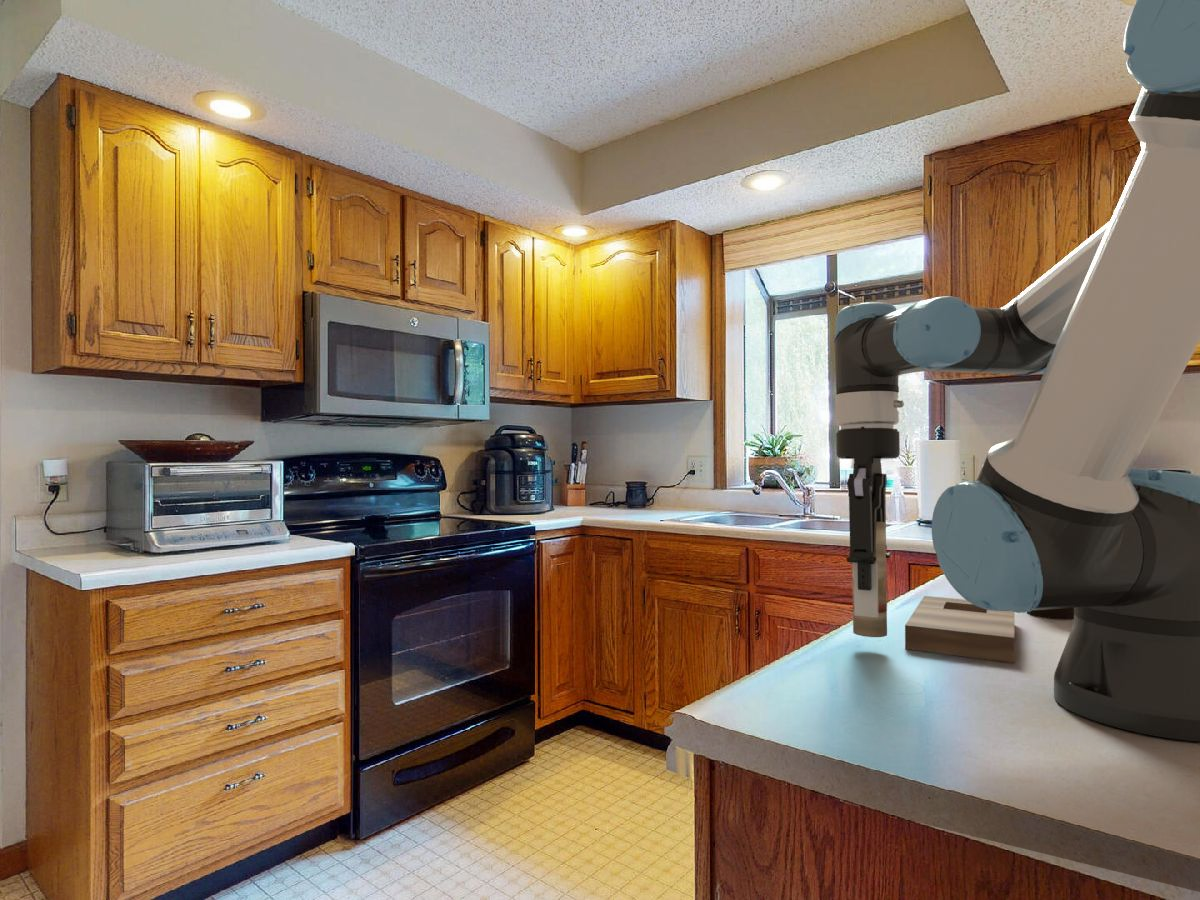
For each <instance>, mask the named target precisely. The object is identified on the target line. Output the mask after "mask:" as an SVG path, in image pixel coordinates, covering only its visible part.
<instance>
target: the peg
mask: <svg viewBox="0 0 1200 900" xmlns="http://www.w3.org/2000/svg"><path fill="white" fill-rule="evenodd" d="M886 545H887V534H886V535H885V522H876V561H875V563H878V618H877V617H867V616H857V615H854V563H851V564H852V565H851V567H852V568H851V569H852V572H851V573H852V576H851V577H852V579H851V580H852V583H851V584H852V633H853V634H854V635H857V636H860V637H867V638H883V637H887V636H888V616H887V615H888V612H887V611H888V602H887V599H888V598H887V597H888V596H887V560H886V559H887V558H886V552H887V549H886Z"/></svg>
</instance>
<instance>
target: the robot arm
mask: <svg viewBox="0 0 1200 900" xmlns="http://www.w3.org/2000/svg"><path fill="white" fill-rule="evenodd" d="M1123 52H1124V53H1125V54H1126V55H1127V56H1128V58H1127V60H1126V62H1125V63H1126V68H1127V70H1128V72H1129V73H1130V75H1131V76H1132V78H1133V79H1134V80H1135V81H1136V82H1137V84H1139V86H1141V90H1140V93H1139V95H1138V97H1137V100H1136V103H1135V104H1134V107H1133V109H1132V112H1131V114H1130V116H1129V119H1128V122H1129V124H1130V126H1131V128H1132V129H1133V131H1134V134H1135V136H1136V138H1137V139H1138V141H1139V143H1140V152H1139V155H1138V157H1137V160H1136V161H1135V163H1134V167H1133V169H1132V171H1131V173H1130V175H1129V177H1128V180H1127V182H1126V185H1125V187H1124V189H1123V191H1122V193H1121V196H1120V198H1119V201H1118V203H1117V205H1116V207H1115V209H1114V211H1113V215H1112V216H1111V218H1110V220H1109V221H1108V222H1107V223H1105V224H1104V225H1103V226H1102V227H1100V228H1099V229H1098V230H1097V231H1095V232H1094V233H1093V234H1092V235H1090V236H1089V238H1087V239H1086V240H1085V241H1083V242H1082V243H1080V245H1078V247H1076V248H1075V249H1074V250H1072V251H1071V252H1070V253H1069V254H1068V255H1066V256H1065V257H1064V258H1063V259H1061V260H1060V261H1059V262H1058V263H1056V264H1055V265H1054V266H1053V267H1052V268H1051V269H1050V268H1049V270H1048V271H1046V273H1044V274H1043V275H1042V276H1041V277H1039V278H1038V279H1036V281H1034V283H1032V284H1031V285H1029V286H1028V287H1027V288H1026V289H1025V290H1024V291H1022V292H1021V293H1020V294H1018V295H1016V297H1015V298H1013V299H1012V300H1011V301H1010V302H1008V303H1007V304H1006V305H1004V306H1002V307H999V308H998V307H983V306H982V307H981V306H980V307H978V306H977V307H976V306H972V305H971V304H969V303H967V302H965V301H964V300H962V299H961V298H959V297H958V296H957V297H956V296H951V295H944V296H937V297H933V298H925V299H921V300H919V301H915V303H913V304H911V305H909V306H906V307H903V308H900V309H897V308H896V306H895V305H893V304H892V303H887V302H880V301H879V302H873V301H872V302H863V303H859V304H858V303H857V304H854V305H848V306H845V307H844V308H842V309H840V310H839V311H838V313H836V317H835V334H834V337H833V344H834V345H833V346H834V364H835V365H834V366H835V367H834V368H835V369H834V370H835V371H834V372H835V393H836V394H835V425H836V426H837V427H840V429H838V431H837V432H835V433H836V434H835V435H836V441H835V442H836V449H835V450H836V457H838V459H841V460H853V468H852V470H853V471H852V473H849V475H848V478H847V481H846V486H847V490H848V492H847V493H848V511H849V512H848V513H849V514H848V515H849V516H848V518H849V519H848V520H849V556H846V562H847V563H851V564H852V563H854V615H857V616H867V617H877V618H878V563H875V561H876V522H885V535H886V536H887V528H886V527H887V521H886V520H887V518H886V516H887V514H886V512H887V507H886V506H887V505H886V504H887V503H886V499H887V498H886V492H887V483H888V481H887V478H888V477H887V473H883V471H882V461H881V460H882V459H897V458H898V457H899V456H900V452H901V451H900V443H901V442H900V431H898V429H897V428H894V425H895V426H896V425H898V423H899V422H900V418H899V413H900V412H899V410H898V408H903V407H904V406H905V402H904V401H903V400H902V399H899V392H900V391H899V390H900V387H899V378H900V377H899V376H902V375H907V374H908V375H909V374H912V373H919V372H936V373H937V372H940V373H941V372H942V373H967V374H968V373H970V374H971V373H972V374H974V373H980V374H981V373H982V374H983V373H984V374H998V375H999V374H1001V375H1003V374H1005V375H1013V376H1014V375H1015V376H1021V377H1024V376H1025V377H1027V376H1032V375H1042V376H1041V379H1040V381H1039V384H1038V386H1037V388H1036V390H1035V392H1034V395H1033V397H1032V400H1031V402H1030V404H1029V406H1028V409H1027V410H1026V413H1025V415H1024V418H1023V419H1022V423H1021V424H1020V427H1019V428H1018V431H1017V434H1016V436H1015V437H1014V438H1011V439H1008V440H1006V441H1002V442H1000V443H996V444H994V445H993V446H991V448H990V449H989V450H988V452H987V455H986V457H985V459H984V462H983V464H982V467H981V469H980V472H979V474H978V476H977V478H976V480H969V479H966V480H963V481H960V482H959V483H955V485H953V486H949V487H947V488H946V489H945V490H944V491H943V492H942V493H941V494H940V496H939V497H938V499H937V501H936V503H935V506H934V509H933V513H932V519H931V539H932V545H933V549H934V551H935V554H936V560H937V562H938V565H939V567H940V570H941V571H942V573H943V575H944V576H945V577H944V578H945V579H946V580H947V581H948V583H949V584H950V586H951V587H952V588H953V589H954V590H955V591H956V592H957V593H958V594H959V595H960V597H962V599H964V600H967V601H969V602H970V603H972V604H974V605H976V606H978V607H980V608H983V609H987V610H993V611H1013V612H1014V613H1017V614H1020V613H1022V614H1023V613H1027V612H1030V611H1033V610H1047V609H1061V608H1074V619H1073V623H1072V627H1071V630H1070V633H1069V636H1068V638H1067V640H1066V643H1065V646H1064V648H1063V651H1062V653H1061V655H1060V658H1059V661H1058V664H1057V665H1056V668H1055V670H1054V674H1053V698H1054V699H1055V701H1056V702H1057V703H1058V704H1059V705H1060V706H1061V707H1064V708H1065V709H1067V710H1068V711H1070V712H1072V713H1074V714H1077V715H1078V716H1081V717H1084V718H1086V719H1088V720H1092V721H1095V722H1097V723H1101V724H1104V725H1108V726H1111V727H1113V728H1117V729H1122V730H1126V731H1130V732H1134V733H1139V734H1143V735H1147V736H1154V737H1160V738H1166V739H1173V740H1181V741H1190V742H1200V474H1194V473H1187V472H1179V471H1171V470H1162V469H1159V470H1158V469H1157V470H1156V469H1155V470H1152V469H1147V468H1137V467H1133V466H1134V464H1135V462H1137V459H1138V457H1139V455H1140V454H1141V452H1142V450H1143V448H1144V446H1145V444H1146V442H1147V440H1148V438H1149V437H1150V435H1151V434H1152V431H1153V429H1154V427H1155V425H1156V424H1157V422H1158V420H1159V419H1160V417H1161V415H1162V413H1163V411H1164V409H1165V407H1166V405H1167V403H1168V401H1169V400H1170V398H1171V396H1172V394H1173V392H1174V390H1175V389H1176V386H1177V385H1178V383H1179V381H1180V379H1181V377H1182V375H1183V373H1184V371H1185V369H1186V368H1187V366H1188V364H1189V362H1190V360H1191V359H1192V357H1193V355H1194V353H1195V351H1196V349H1197V347H1198V345H1200V0H1136V1H1135V3H1134V5H1133V7H1132V10H1131V13H1130V15H1129V17H1128V21H1127V23H1126V27H1125V32H1124V39H1123ZM887 548H888V545H887V544H886V550H887ZM890 557H891V552H889V551H886V559H890Z"/></svg>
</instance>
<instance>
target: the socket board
mask: <svg viewBox="0 0 1200 900" xmlns="http://www.w3.org/2000/svg"><path fill="white" fill-rule="evenodd" d="M904 625H905V626H904V647H905V650H912V651H921V652H928V653H929V652H930V653H936V654H943V655H950V656H951V655H952V656H959V657H966V658H974V659H981V660H983V659H984V660H988V661H996V662H1003V663H1004V662H1005V663H1012V664H1013V663H1014V664H1015V612H1013V611H993V610H987V609H983V608H980V607H978V606H976V605H974V604H972V603H970V602H969V601H967V600H966V599H964V598H952V597H941V596H931V595H929V596H928V595H924V596H923V597H922V599H921V600H920V602H919V603H918V604H917V606H916V608H915V609H914V611H913V612H912V614H911V615H910V617H909V618H908V619H907V621H906V623H905V624H904Z"/></svg>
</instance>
